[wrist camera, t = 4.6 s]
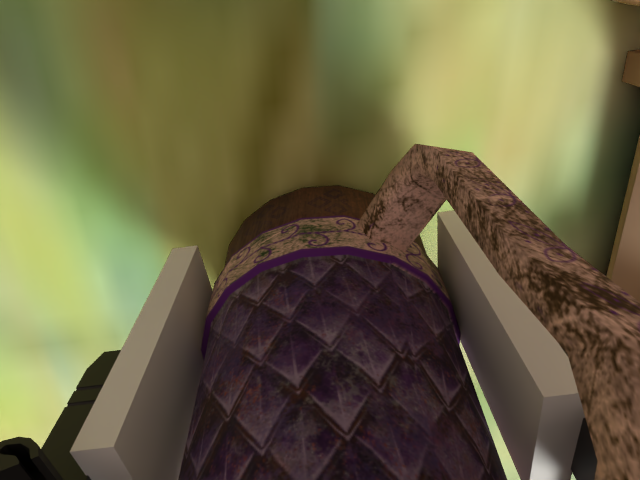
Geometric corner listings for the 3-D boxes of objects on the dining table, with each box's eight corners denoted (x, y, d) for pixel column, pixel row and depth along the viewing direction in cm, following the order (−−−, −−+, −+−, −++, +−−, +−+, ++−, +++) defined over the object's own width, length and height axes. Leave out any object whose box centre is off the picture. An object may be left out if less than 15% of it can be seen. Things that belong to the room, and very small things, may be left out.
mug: (365, 369, 18) (446, 909, 7) (196, 311, 16) (-8, 905, 6) (529, 148, 13) (1330, 737, 3) (318, 35, 12) (404, 476, 1)
